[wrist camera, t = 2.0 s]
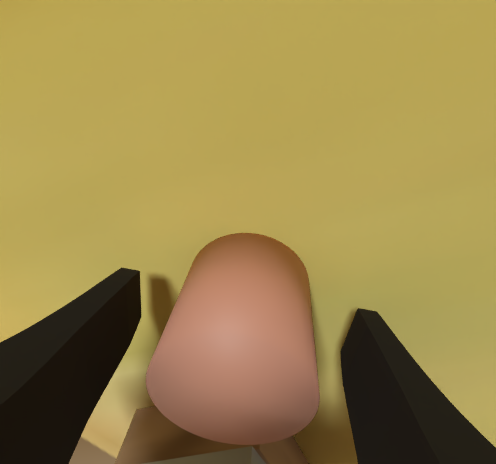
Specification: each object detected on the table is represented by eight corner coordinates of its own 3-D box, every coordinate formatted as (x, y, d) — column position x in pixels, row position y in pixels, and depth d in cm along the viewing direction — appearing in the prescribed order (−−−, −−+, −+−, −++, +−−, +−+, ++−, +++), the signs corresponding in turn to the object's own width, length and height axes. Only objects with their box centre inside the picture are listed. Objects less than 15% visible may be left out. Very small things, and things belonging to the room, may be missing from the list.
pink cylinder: (285, 216, 11) (284, 314, 7) (323, 313, 13) (340, 434, 9) (169, 252, 12) (112, 354, 8) (219, 337, 14) (193, 452, 10)
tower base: (263, 380, 15) (259, 449, 13) (310, 460, 18) (314, 529, 16) (138, 403, 17) (112, 467, 15) (199, 472, 20) (186, 536, 18)
